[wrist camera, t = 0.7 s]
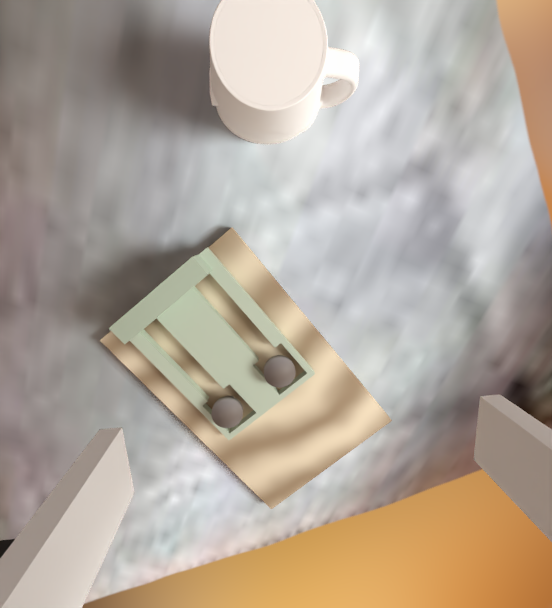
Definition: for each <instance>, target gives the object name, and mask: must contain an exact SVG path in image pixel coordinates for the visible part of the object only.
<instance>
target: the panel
mask: <svg viewBox="0 0 552 608" xmlns="http://www.w3.org/2000/svg"><path fill="white" fill-rule="evenodd" d="M209 273H210V274H211V275H212V276H213V278H214V279H215V280H216V281H217V282H218V283H219V284H220V286H221V287H222V288H223V289H224V290H225V291H226V292H227V294H228V295H229V296H230V297H231V298H232V299H233V300H234V302H235V303H236V304H237V305H238V306H239V307H240V308H241V310H242V311H243V312H244V313H245V314H246V315H247V316H248V318H249V319H250V320H251V321H252V322H253V323H254V324H255V326H256V327H257V328H258V329H259V330H260V331H261V332H262V334H263V335H264V336H265V337H266V338H267V339H268V340H269V342H270V343H271V344H272V345H273V346H274V347H277V346H278V345H279V344H280V343H281V344H282V345H283V346H284V347H285V348H286V349H287V351H288V352H289V353H290V354H291V355H292V356H293V357H294V359H295V360H296V361H297V362H298V363H299V364H300V365H301V367H302V368H303V369H304V370H305V371H303V372H302V373H301V374H299V375H298V376H297V377H296V378H294V380H293V381H292V382H291V383H290V384H289V385H287V386H285V387H283V388H281V389H280V390H278V389H277V388H276V387H273V386H271V385H270V384H268V383H267V381H266V380H265V377H264V374H263V372H262V371H261V370H260V369H259V368H258V367H257V366H256V365H255V363H257V362H258V361H259V357H258V356H257V355H256V354H255V353H254V352H253V350H252V349H251V348H250V347H249V346H248V345H247V344H246V343H245V342H244V340H243V339H242V338H241V337H240V336H239V335H238V334H237V333H236V331H235V330H234V329H233V328H232V327H231V326H230V325H229V324H228V323H227V321H226V320H225V319H224V318H223V317H222V316H221V315H220V314H219V313H218V311H217V310H216V309H215V308H214V307H213V306H212V305H211V304H210V303H209V301H208V300H207V299H206V298H205V297H204V296H203V295H202V294H201V292H200V291H199V290H198V289H197V288H196V287H195V285H196V284H198V283H199V282H200V281H201V280H202V279H204V278H205V277H206V276H207V275H208V274H209ZM156 318H157V319H158V321H159V322H160V323H161V324H162V325H163V326H164V327H165V328H166V329H167V330H168V331H169V332H170V333H171V334H172V335H173V336H174V337H175V338H176V339H177V340H178V342H179V343H180V344H181V345H182V346H183V347H184V348H185V349H186V350H187V351H188V352H189V353H190V354H191V355H192V356H193V357H194V358H195V359H196V360H197V361H198V363H199V364H200V365H201V366H202V367H203V368H204V369H205V370H206V371H207V372H208V373H209V374H210V375H211V376H212V377H213V378H214V379H215V380H216V381H217V382H218V384H219V385H220V386H221V387H222V388H223V389H224V388H225V387H226V386H228V385H229V384H230V385H231V387H232V388H233V389H234V390H235V391H236V392H237V393H238V394H239V395H240V396H241V397H242V398H243V399H244V400H245V401H246V402H247V403H248V405H249V406H250V407H251V408H252V409H253V411H252V412H251V413H249V414H248V415H247V416H246V417H244V418H243V419H242V420H241V421H240V423H239V424H238V425H236V426H234V427H232V428H222V427H220V426H218V425H216V424H215V422H214V421H213V419H212V416H211V413H212V409H211V408H210V407H209V406H208V405H207V404H206V402H208V399H209V396H208V395H207V394H206V393H205V392H204V391H203V390H202V389H201V388H200V387H199V386H198V385H197V384H196V383H195V382H194V381H193V379H192V378H191V377H190V376H189V375H188V374H187V373H186V372H185V371H184V370H183V369H182V368H181V367H180V366H179V365H178V364H177V363H176V362H175V361H174V360H173V359H172V358H171V357H170V356H169V355H168V354H167V353H166V352H165V351H164V350H163V349H162V348H161V347H160V346H159V344H158V343H157V342H156V341H155V340H154V339H153V338H152V337H151V336H150V335H149V334H148V333H147V332H146V331H145V330H144V328H146V327H147V326H148V325H149V324H150V323H151V322H153V321H154V320H155V319H156ZM109 329H110V330H111V331H112V332H113V333H114V334H115V335H116V336H117V337H118V338H119V339H120V340H121V341H122V342H123V343H124V344H126V343H127V342H129V341H131V342H132V343H133V344H134V345H135V346H136V347H137V348H138V349H139V350H140V351H141V352H142V353H143V355H144V356H145V357H146V358H147V359H148V360H149V361H150V362H151V363H152V364H153V365H154V366H155V367H156V368H157V369H158V370H159V371H160V372H161V373H162V374H163V375H164V376H165V377H166V378H167V379H168V380H169V381H170V382H171V383H172V384H173V385H174V386H175V387H176V388H177V389H178V390H179V391H180V392H181V393H182V394H183V395H184V396H185V397H186V398H187V399H188V400H189V401H190V402H191V403H192V404H193V405H194V406H195V407H196V408H197V409H198V410H199V411H200V412H201V413H202V414H203V415H204V416H205V417H206V418H207V419H208V420H209V421H210V422H211V423H212V424H213V425H214V426H215V427H216V428H217V429H218V430H219V431H220V432H221V433H222V434H223V435H224V436H225V437H226V438H227V439H228V440H230V439H232V438H233V437H234V436H236V435H237V434H238V433H240V432H241V431H242V430H243V429H245V428H246V427H247V426H249V425H250V424H251V423H252V422H254V421H255V420H256V419H258V418H259V417H260V416H262V415H263V414H264V413H265V412H267V411H268V410H269V409H271V408H272V407H273V406H274V405H276V404H277V403H278V402H280V401H281V400H282V399H283V398H285V397H286V396H287V395H289V394H290V393H291V392H293V391H294V390H295V389H296V388H298V387H299V386H300V385H302V384H303V383H304V382H305V381H307V380H308V379H309V378H311V377H312V376H313V375H314V374H315V372H314V370H313V369H312V367H311V366H310V365H309V364H308V363H307V362H306V361H305V359H304V358H303V357H302V356H301V355H300V354H299V352H298V351H297V350H296V349H295V348H294V347H293V345H292V344H291V343H290V342H289V341H288V340H287V338H286V337H285V336H284V335H283V334H282V333H281V331H280V330H279V329H278V328H277V327H276V326H275V324H274V323H273V322H272V321H271V320H270V319H269V317H268V316H267V315H266V314H265V313H264V312H263V310H262V309H261V308H260V307H259V306H258V305H257V304H256V302H255V301H254V300H253V299H252V298H251V297H250V295H249V294H248V293H247V292H246V291H245V290H244V288H243V287H242V286H241V285H240V284H239V283H238V281H237V280H236V279H235V278H234V277H233V276H232V274H231V273H230V272H229V271H228V270H227V269H226V267H225V266H224V265H223V264H222V263H221V262H220V260H219V259H218V258H217V257H216V256H215V255H214V253H213V252H212V251H211V250H210V249H209V248H206V249H205V250H203V251H202V252H201V253H200V254H199V255H196V256H192V257H191V258H190V259H189V260H188V261H187V262H185V263H184V264H183V265H182V266H181V267H180V268H178V269H177V270H176V271H175V272H174V273H173V274H171V275H170V276H169V277H168V278H167V279H166V280H164V281H163V282H162V283H161V284H160V285H159V286H157V287H156V288H155V289H154V290H153V291H152V292H150V293H149V294H148V295H147V296H146V297H145V298H143V299H142V300H141V301H140V302H139V303H138V304H136V305H135V306H134V307H133V308H132V309H131V310H129V311H128V312H127V313H126V314H125V315H124V316H122V317H121V318H120V319H119V320H118V321H117V322H115V323H114V324H113V325H112V326H111V327H110V328H109Z"/></svg>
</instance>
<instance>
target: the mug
mask: <svg viewBox="0 0 552 608" xmlns="http://www.w3.org/2000/svg"><path fill="white" fill-rule="evenodd" d="M209 50H210V69H209V79H210V96H211V102H212V105H213V106H216V108H217V112H218V114H219V116H220V118H221V120H222V122H223V123H224V124H225V126H226V127H227V128H228V129H229V130H230V131H231V132H233V133H234V134H235V135H237V136H238V137H240V138H242V139H244V140H247V141H249V142H253V143H257V144H278V143H282V142H285V141H288V140H290V139H292V138H294V137H296V136H298V135H299V134H300V133H303V132H304V131H306V130H307V129H308V128H309V127H310V126H311V125H312V124H313V122H314V120H315V118H316V116H317V113H318V110H319V109H322V108H329V107H333V106H336V105H339V104H341V103H342V102H344V101H346V100H347V99H348V98H349V97H351V96H352V94H353V93H354V92H355V90H356V88H357V86H358V78H359V61H358V58H357V57H356V55H354V54H353V53H352V52H350V51H347V50H343V49H338V48H331V47H328V39H327V31H326V26H325V23H324V20H323V17H322V14H321V12H320V10H319V8H318V7H317V5H316V3H315V2H314V0H221V1H220V3H219V5H218V6H217V8H216V10H215V13H214V16H213V19H212V22H211V27H210V34H209ZM326 77H328V78H336V79H340V80H338V81H336V82H334V83H331V84H327V85H322V84H323V79H324V78H326Z"/></svg>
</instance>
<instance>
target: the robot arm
mask: <svg viewBox="0 0 552 608" xmlns="http://www.w3.org/2000/svg"><path fill="white" fill-rule="evenodd" d="M474 460H475V461H476V463H477V464H478V465H479V466H480V467H481V468H482V469H483V470H484V471H485V472H486V473H487V474H488V475H489V476H490V477H491V478H492V479H493V480H494V482H495V483H496V484H497V485H498V486H499V487H500V488H501V489H502V490H503V491H504V492H505V493H506V494H507V495H508V496H509V497H510V498H511V500H512V501H513V502H514V503H515V504H516V505H517V506H518V507H519V508H520V509H521V510H522V511H523V512H524V513H525V514H526V515H527V516H528V517H529V519H531V521H532V522H533V523H534V524H535V525H536V526H537V527H538V528H539V529H540V530H541V531H542V532H543V533H544V534H545V535H546V536H547V538H548V539H549V540H550V541H552V430H551V429H550V428H548V427H547V426H545V425H544V424H542V423H541V422H539V421H538V420H537V419H535V418H534V417H532V416H531V415H529V414H528V413H526V412H525V411H523V410H522V409H520V408H519V407H517V406H516V405H514V404H513V403H511V402H510V401H509V400H507V399H506V398H504V397H503V396H501V395H490V396H480V403H479V413H478V423H477V433H476V442H475V452H474ZM133 495H134V488H133V482H132V477H131V472H130V467H129V462H128V456H127V451H126V446H125V441H124V435H123V430H122V428H110V429H100V430H99V431H98V432H97V434H96V435H95V436H94V438H93V439H92V440H91V441H90V443H89V444H88V445H87V447H86V448H85V449H84V451H83V452H82V453H81V454H80V456H79V457H78V458H77V460H76V461H75V462H74V464H73V465H72V466H71V467H70V469H69V470H68V471H67V473H66V474H65V475H64V477H63V478H62V479H61V480H60V482H59V483H58V484H57V486H56V487H55V488H54V489H53V491H52V492H51V493H50V495H49V496H48V497H47V499H46V500H45V501H44V502H43V504H42V505H41V506H40V508H39V509H38V510H37V512H36V513H35V514H34V515H33V517H32V518H31V519H30V521H29V522H28V523H27V524H26V526H25V527H24V528H23V530H22V531H21V532H20V534H19V535H18V536H17V537H16V539H12V540H2V541H0V608H82V606H83V604H84V602H85V600H86V598H87V595H88V593H89V591H90V589H91V587H92V584H93V582H94V580H95V578H96V576H97V574H98V571H99V569H100V567H101V565H102V563H103V560H104V558H105V556H106V554H107V552H108V549H109V547H110V545H111V543H112V541H113V538H114V536H115V534H116V532H117V530H118V527H119V525H120V523H121V521H122V519H123V516H124V514H125V512H126V510H127V508H128V505H129V503H130V501H131V499H132V497H133Z"/></svg>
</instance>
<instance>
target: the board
mask: <svg viewBox="0 0 552 608" xmlns="http://www.w3.org/2000/svg"><path fill="white" fill-rule="evenodd" d="M208 248H209V249H210V250H211V251H212V252H213V253H214V255H215V256H216V257H217V258H218V259H219V260H220V262H221V263H222V264H223V265H224V266H225V267H226V269H227V270H228V271H229V272H230V273H231V274H232V276H233V277H234V278H235V279H236V280H237V281H238V283H239V284H240V285H241V286H242V287H243V288H244V290H245V291H246V292H247V293H248V294H249V295H250V297H251V298H252V299H253V300H254V301H255V302H256V304H257V305H258V306H259V307H260V308H261V309H262V310H263V312H264V313H265V314H266V315H267V316H268V317H269V319H270V320H271V321H272V322H273V323H274V324H275V326H276V327H277V328H278V329H279V330H280V331H281V333H282V334H283V335H284V336H285V337H286V338H287V340H288V341H289V342H290V343H291V344H292V345H293V347H294V348H295V349H296V350H297V351H298V352H299V354H300V355H301V356H302V357H303V358H304V359H305V361H306V362H307V363H308V364H309V365H310V366H311V367H312V369H313V370H314V372H315V374H314V375H313V376H312V377H311V378H309V379H308V380H307V381H305V382H304V383H303V384H302V385H300V386H299V387H298V388H296V389H295V390H294V391H293V392H291V393H290V394H289V395H287V396H286V397H285V398H283V399H282V400H281V401H280V402H278V403H277V404H276V405H274V406H273V407H272V408H271V409H269V410H268V411H267V412H265V413H264V414H263V415H262V416H260V417H259V418H258V419H256V420H255V421H254V422H252V423H251V424H250V425H249V426H247V427H246V428H245V429H243V430H242V431H241V432H240V433H238V434H237V435H236V436H234V437H233V438H232V439H230V440H228V439H227V438H226V437H225V436H224V435H223V434H222V433H221V432H220V431H219V430H218V429H217V428H216V427H215V426H214V425H213V424H212V423H211V422H210V421H209V420H208V419H207V418H206V417H205V416H204V415H203V414H202V413H201V412H200V411H199V410H198V409H197V408H196V407H195V406H194V405H193V404H192V403H191V402H190V401H189V400H188V399H187V398H186V397H185V396H184V395H183V394H182V393H181V392H180V391H179V390H178V389H177V388H176V387H175V386H174V385H173V384H172V383H171V382H170V381H169V380H168V379H167V378H166V377H165V376H164V375H163V374H162V373H161V372H160V371H159V370H158V369H157V368H156V367H155V366H154V365H153V364H152V363H151V362H150V361H149V360H148V359H147V358H146V357H145V356H144V355H143V353H142V352H141V351H140V350H139V349H138V348H137V347H136V346H135V345H134V344H133V343H132V342H131V341H129V342H127V343H126V344H124V343H123V342H122V341H121V340H120V339H119V338H118V337H117V336H116V335H115V334H114V333H113V332H112V331H110V332H109V333H108V334H107V335H106V336H104V337H103V338H102V339H101V340H100V341H101V342H102V343H103V344H104V345H105V346H106V347H107V348H108V349H109V350H110V351H111V352H112V353H113V354H114V355H115V356H116V357H117V358H118V359H119V360H120V361H121V362H122V363H123V364H124V365H125V366H126V367H127V368H128V369H129V370H130V371H131V372H132V373H133V374H134V375H135V376H136V377H137V378H138V379H139V380H140V381H141V382H142V383H143V384H144V385H146V386H147V387H148V388H149V389H150V390H151V391H152V392H153V393H154V394H155V395H156V396H157V397H158V398H159V399H160V400H161V401H162V402H163V403H164V404H165V405H166V406H167V407H168V408H169V409H170V410H171V411H172V412H173V413H174V414H175V415H176V416H177V417H178V418H179V419H180V420H181V421H182V422H183V423H184V424H185V425H186V426H187V427H188V428H189V429H190V430H191V431H192V432H193V433H194V434H195V435H196V436H197V437H198V438H199V439H200V440H201V441H203V442H204V443H205V444H206V445H207V446H208V447H209V448H210V449H211V450H212V451H213V452H214V453H215V454H216V455H217V456H218V457H219V458H220V459H221V460H222V461H223V462H224V463H225V464H226V465H227V466H228V467H229V468H230V469H231V470H232V471H233V472H234V473H235V474H236V475H237V476H238V477H239V478H240V479H241V480H242V481H243V482H244V483H245V484H246V485H247V486H248V487H249V488H250V489H251V490H252V491H253V492H254V493H255V494H256V495H257V496H258V497H260V498H261V499H262V500H263V501H264V502H265V503H266V504H267V505H268V506H269V507H270V508H271V509H272V508H274V507H275V506H276V505H278V504H279V503H280V502H282V501H283V500H285V499H286V498H287V497H289V496H290V495H291V494H293V493H294V492H295V491H297V490H298V489H300V488H301V487H302V486H304V485H305V484H306V483H308V482H309V481H310V480H312V479H313V478H314V477H316V476H317V475H319V474H320V473H321V472H323V471H324V470H325V469H327V468H328V467H329V466H331V465H332V464H334V463H335V462H336V461H338V460H339V459H340V458H342V457H343V456H344V455H346V454H347V453H348V452H350V451H351V450H353V449H354V448H355V447H357V446H358V445H359V444H361V443H362V442H363V441H365V440H366V439H368V438H369V437H370V436H372V435H373V434H374V433H376V432H377V431H378V430H380V429H381V428H383V427H384V426H385V425H387V424H388V423H389V422H391V421H392V420H391V419H390V418H389V416H388V415H387V414H386V412H385V411H384V410H383V409H382V408H381V406H380V405H379V404H378V403H377V402H376V400H375V399H374V398H373V397H372V396H371V394H370V393H369V392H368V391H367V390H366V388H365V387H364V386H363V385H362V383H361V382H360V381H359V380H358V379H357V377H356V376H355V375H354V374H353V373H352V371H351V370H350V369H349V368H348V367H347V365H346V364H345V363H344V362H343V361H342V359H341V358H340V357H339V356H338V354H337V353H336V352H335V351H334V350H333V348H332V347H331V346H330V345H329V344H328V342H327V341H326V340H325V339H324V338H323V336H322V335H321V334H320V333H319V332H318V330H317V329H316V328H315V327H314V325H313V324H312V323H311V322H310V321H309V319H308V318H307V317H306V316H305V315H304V313H303V312H302V311H301V310H300V309H299V307H298V306H297V305H296V304H295V303H294V301H293V300H292V299H291V298H290V296H289V295H288V294H287V293H286V292H285V290H284V289H283V288H282V287H281V286H280V284H279V283H278V282H277V281H276V280H275V278H274V277H273V276H272V275H271V274H270V272H269V271H268V270H267V269H266V268H265V266H264V265H263V264H262V263H261V261H260V260H259V259H258V258H257V257H256V255H255V254H254V253H253V252H252V251H251V249H250V248H249V247H248V246H247V245H246V243H245V242H244V241H243V240H242V239H241V237H240V236H239V235H238V234H237V232H236V231H235V230H234V229H233V228H231V229H229V230H228V231H227V232H226V233H225V234H224V235H222V236H221V237H220V238H219V239H218V240H217V241H215V242H214V243H213V244H212V245H211V246H210V247H208ZM195 287H196V288H197V289H198V290H199V291H200V292H201V294H202V295H203V296H204V297H205V298H206V299H207V300H208V301H209V303H210V304H211V305H212V306H213V307H214V308H215V309H216V310H217V311H218V313H219V314H220V315H221V316H222V317H223V318H224V319H225V320H226V321H227V323H228V324H229V325H230V326H231V327H232V328H233V329H234V330H235V331H236V333H237V334H238V335H239V336H240V337H241V338H242V339H243V340H244V342H245V343H246V344H247V345H248V346H249V347H250V348H251V349H252V350H253V352H254V353H255V354H256V355H257V356H258V357H259V361H258V362H257V363H255V365H256V366H257V367H258V368H259V369H260V370H261V371H262V372H263V374H264V377H265V380H266V381H267V383H268V384H270V385H271V386H273V387H276V388H277V389H278V390H280V389H281V388H283V387H285V386H287V385H289V384H290V383H291V382H292V381H293V380H294V378H296V377H297V376H298V375H299V374H301V373H302V372H303V371H305V370H304V369H303V368H302V367H301V365H300V364H299V363H298V362H297V361H296V360H295V359H294V357H293V356H292V355H291V354H290V353H289V352H288V351H287V349H286V348H285V347H284V346H283V345H282V344H281V343H280V344H279V345H278V346H277V347H274V346H273V345H272V344H271V343H270V342H269V340H268V339H267V338H266V337H265V336H264V335H263V334H262V332H261V331H260V330H259V329H258V328H257V327H256V326H255V324H254V323H253V322H252V321H251V320H250V319H249V318H248V316H247V315H246V314H245V313H244V312H243V311H242V310H241V308H240V307H239V306H238V305H237V304H236V303H235V302H234V300H233V299H232V298H231V297H230V296H229V295H228V294H227V292H226V291H225V290H224V289H223V288H222V287H221V286H220V284H219V283H218V282H217V281H216V280H215V279H214V278H213V276H212V275H211V274H210V273H209V274H208V275H207V276H206V277H205V278H204V279H202V280H201V281H200V282H199V283H198V284H196V285H195ZM144 330H145V331H146V332H147V333H148V334H149V335H150V336H151V337H152V338H153V339H154V340H155V341H156V342H157V343H158V344H159V346H160V347H161V348H162V349H163V350H164V351H165V352H166V353H167V354H168V355H169V356H170V357H171V358H172V359H173V360H174V361H175V362H176V363H177V364H178V365H179V366H180V367H181V368H182V369H183V370H184V371H185V372H186V373H187V374H188V375H189V376H190V377H191V378H192V379H193V381H194V382H195V383H196V384H197V385H198V386H199V387H200V388H201V389H202V390H203V391H204V392H205V393H206V394H207V395H208V396H209V399H208V402H206V404H207V405H208V406H209V407H210V408H211V409H212V413H211V416H212V419H213V421H214V422H215V424H216V425H218V426H220V427H222V428H232V427H234V426H236V425H238V424H239V423H240V421H241V420H242V419H243V418H244V417H246V416H247V415H248V414H249V413H251V412H252V411H253V409H252V408H251V407H250V406H249V405H248V403H247V402H246V401H245V400H244V399H243V398H242V397H241V396H240V395H239V394H238V393H237V392H236V391H235V390H234V389H233V388H232V387H231V385H230V384H229V385H228V386H226V387H225V388H224V389H223V388H222V387H221V386H220V385H219V384H218V382H217V381H216V380H215V379H214V378H213V377H212V376H211V375H210V374H209V373H208V372H207V371H206V370H205V369H204V368H203V367H202V366H201V365H200V364H199V363H198V361H197V360H196V359H195V358H194V357H193V356H192V355H191V354H190V353H189V352H188V351H187V350H186V349H185V348H184V347H183V346H182V345H181V344H180V343H179V342H178V340H177V339H176V338H175V337H174V336H173V335H172V334H171V333H170V332H169V331H168V330H167V329H166V328H165V327H164V326H163V325H162V324H161V323H160V322H159V321H158V319H157V318H156V319H155V320H154V321H153V322H151V323H150V324H149V325H148V326H147V327H146V328H144Z"/></svg>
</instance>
